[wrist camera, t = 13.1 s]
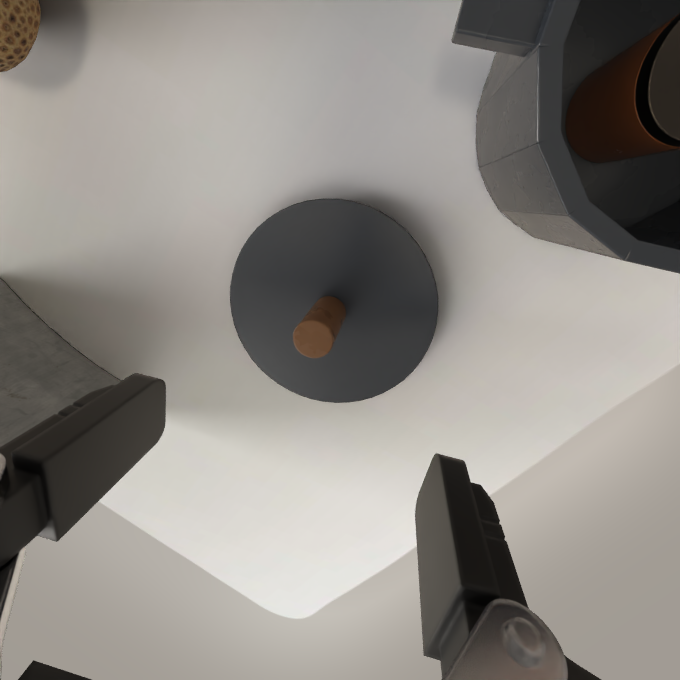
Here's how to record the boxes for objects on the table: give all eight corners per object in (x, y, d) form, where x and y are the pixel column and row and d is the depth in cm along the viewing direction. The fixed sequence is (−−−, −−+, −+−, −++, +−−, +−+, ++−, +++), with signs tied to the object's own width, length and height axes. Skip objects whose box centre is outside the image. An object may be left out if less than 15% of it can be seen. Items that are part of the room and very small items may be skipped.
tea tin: (591, 47, 18) (699, -39, 12) (689, 66, 18) (855, -11, 11) (549, 152, 20) (621, 129, 14) (637, 172, 20) (753, 157, 13)
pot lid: (246, 176, 23) (193, 167, 17) (467, 227, 23) (493, 236, 16) (228, 369, 29) (184, 412, 23) (403, 416, 29) (404, 473, 22)
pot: (482, -93, 17) (578, -429, 8) (902, -20, 16) (1581, -317, 7) (403, 207, 23) (407, 210, 14) (710, 277, 22) (942, 333, 12)
